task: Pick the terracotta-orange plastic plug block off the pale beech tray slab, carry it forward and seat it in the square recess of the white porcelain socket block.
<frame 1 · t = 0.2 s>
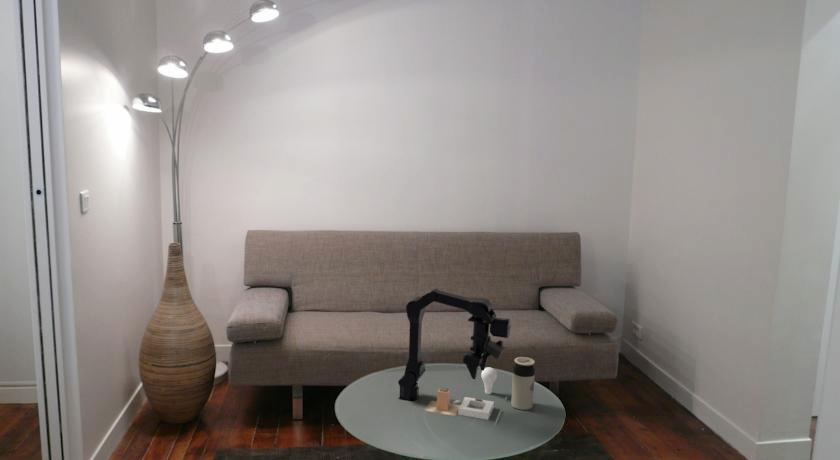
hand: (478, 374, 220), 14 cm above the table, fingers open, 9 cm apart
lightbulb: (488, 394, 237), on the table
plug: (443, 407, 222), point 1 cm above the table, touching tray slab
travel mug: (521, 406, 228), on the table
socket block: (476, 412, 221), on the table
tray slab: (443, 409, 223), on the table
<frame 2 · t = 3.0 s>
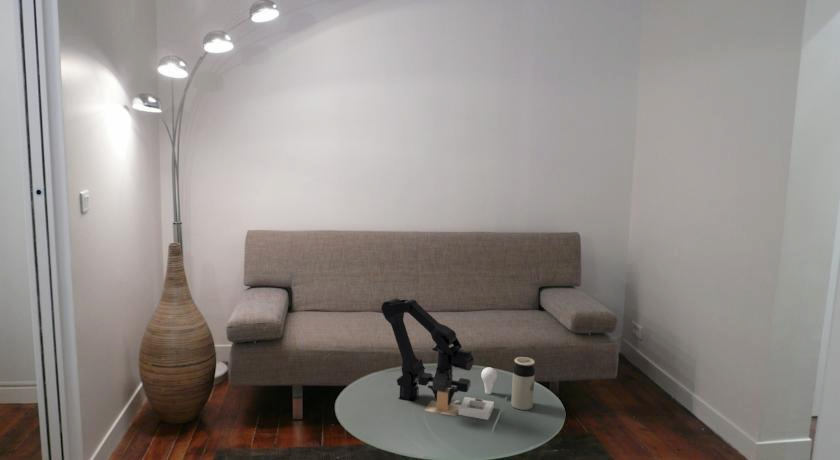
hand: (443, 403, 222), 2 cm above the table, fingers closed on plug, 4 cm apart
plug: (443, 407, 222), point 1 cm above the table, touching gripper, tray slab
everything else where it was.
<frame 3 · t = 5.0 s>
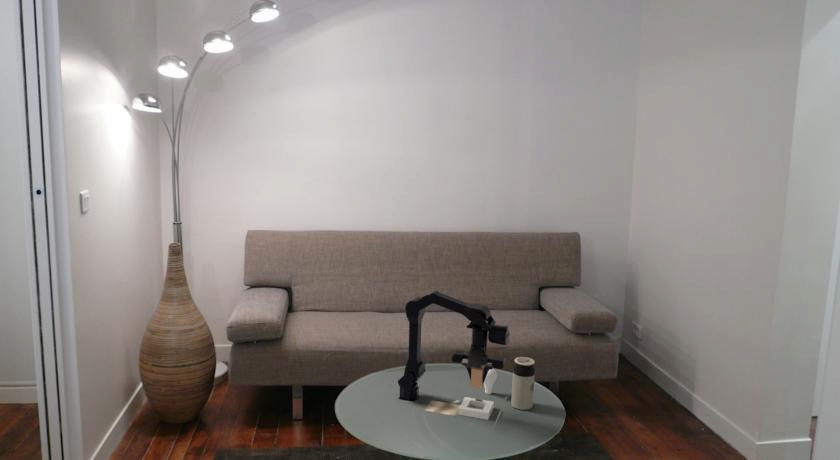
hand: (477, 381, 219), 12 cm above the table, fingers closed on plug, 4 cm apart
plug: (477, 385, 219), point 11 cm above the table, touching gripper
everything else where it was.
when the fingers open (4 cm above the table, at t = 7.0 s): plug drops 1 cm, resting on socket block.
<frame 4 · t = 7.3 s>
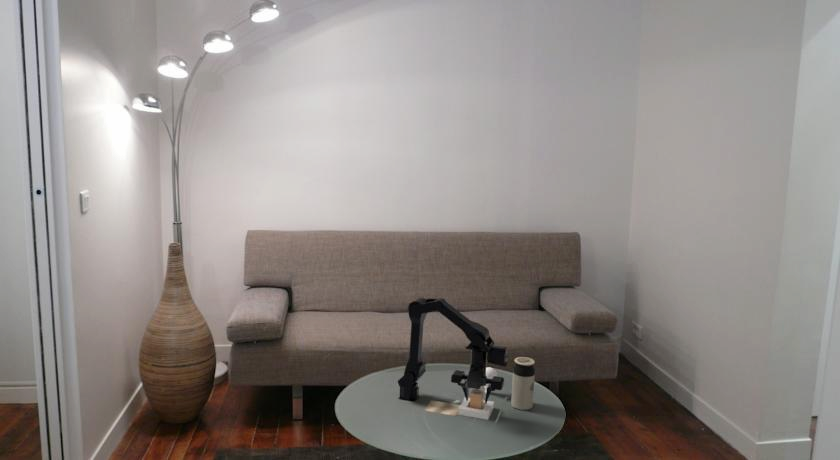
hand: (476, 401, 220), 4 cm above the table, fingers open, 7 cm apart
plug: (476, 409, 221), point 1 cm above the table, touching socket block
everything else where it was.
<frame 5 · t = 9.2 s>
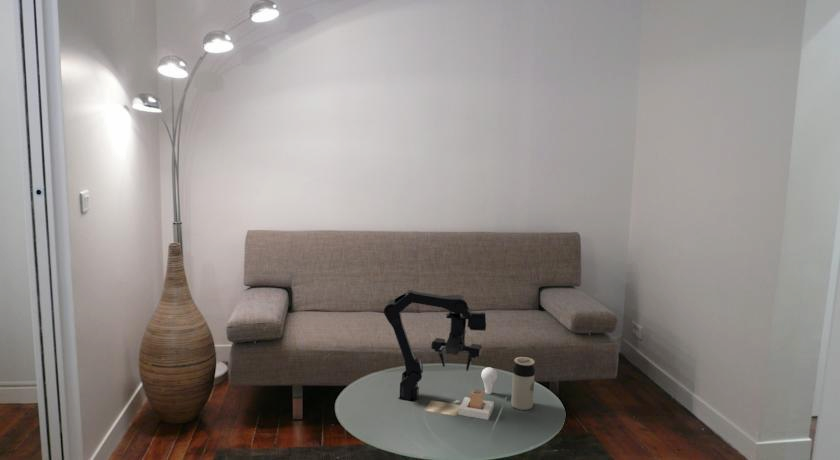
hand: (455, 368, 229), 13 cm above the table, fingers open, 9 cm apart
nothing on the table moved.
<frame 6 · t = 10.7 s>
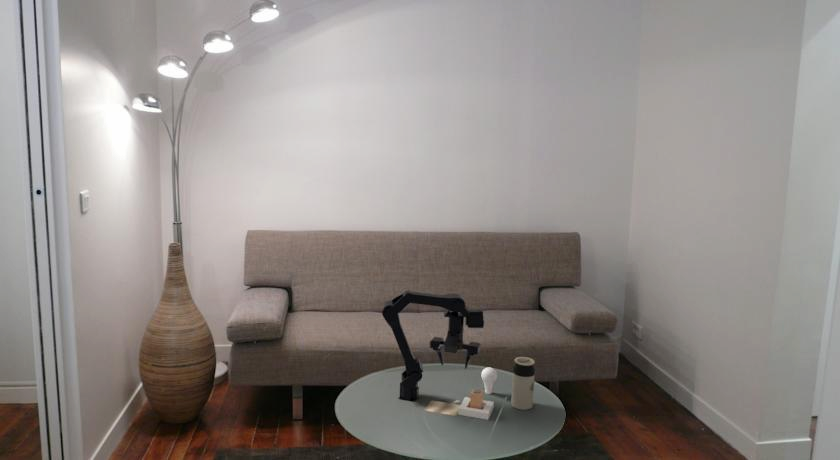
hand: (454, 366, 230), 13 cm above the table, fingers open, 9 cm apart
nothing on the table moved.
at the end: plug 0.0 cm off-centre on the socket block, point 1.1 cm above the socket block's base; plug tilted 0°; the gripper is holding nothing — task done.
